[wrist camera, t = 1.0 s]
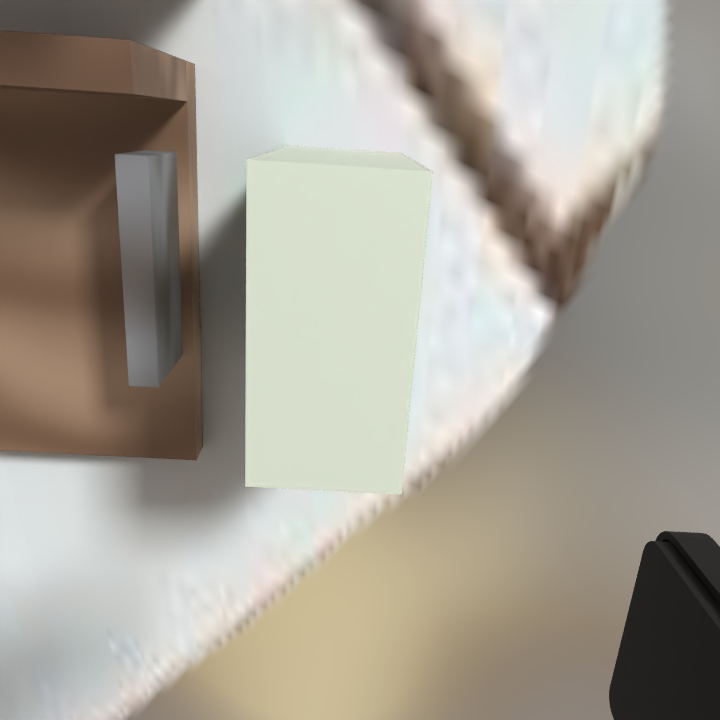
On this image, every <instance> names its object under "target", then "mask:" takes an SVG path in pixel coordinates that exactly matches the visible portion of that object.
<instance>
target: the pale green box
mask: <svg viewBox="0 0 720 720" xmlns="http://www.w3.org/2000/svg"><path fill="white" fill-rule="evenodd" d="M432 178H433V171H431V170H429V169H428V168H426V167H424V166H423V165H421V164H419V163H418V162H416V161H414V160H413V159H411V158H409V157H408V156H406V155H404V154H403V153H397V152H382V151H367V150H352V149H337V148H321V147H306V146H291V145H288V146H285V147H282V148H279V149H276V150H273V151H270V152H267V153H264V154H261V155H258V156H255V157H252V158H249V159H247V162H246V412H245V487H262V488H282V489H302V490H323V491H343V492H363V493H383V494H401V493H402V483H403V473H404V463H405V453H406V442H407V432H408V422H409V412H410V402H411V391H412V381H413V371H414V361H415V351H416V341H417V330H418V320H419V310H420V300H421V290H422V279H423V269H424V259H425V249H426V239H427V228H428V218H429V208H430V198H431V188H432Z"/></svg>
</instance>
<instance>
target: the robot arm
mask: <svg viewBox="0 0 720 720" xmlns="http://www.w3.org/2000/svg"><path fill="white" fill-rule="evenodd" d="M609 701H610V708H611V712H612V715H613V718H614V720H720V547H719V546H718V544H717V543H716V542H715V541H714V540H713V539H712V538H711V537H710V536H709V535H707V534H704V533H690V532H689V533H688V532H669V531H664V532H662V533H660V534H659V535H658V537H657V539H656V541H650V542H648V543H647V544H646V545H645V548H644V550H643V554H642V558H641V562H640V566H639V571H638V575H637V578H636V583H635V587H634V591H633V595H632V599H631V603H630V607H629V611H628V615H627V620H626V623H625V627H624V632H623V636H622V640H621V644H620V648H619V652H618V656H617V660H616V664H615V668H614V673H613V677H612V681H611V685H610V690H609Z"/></svg>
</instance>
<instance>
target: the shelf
mask: <svg viewBox="0 0 720 720" xmlns="http://www.w3.org/2000/svg"><path fill="white" fill-rule="evenodd" d="M202 447H203V434H202V386H201V338H200V290H199V242H198V194H197V146H196V98H195V64H193V63H190V62H188V61H185V60H182V59H180V58H177V57H174V56H172V55H169V54H167V53H164V52H161V51H159V50H156V49H153V48H151V47H148V46H145V45H143V44H140V43H138V42H135V41H132V40H127V39H113V38H99V37H85V36H71V35H57V34H43V33H29V32H15V31H1V30H0V450H6V451H26V452H46V453H65V454H85V455H105V456H125V457H145V458H164V459H184V460H196V459H197V457H198V455H199V453H200V451H201V449H202Z"/></svg>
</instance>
